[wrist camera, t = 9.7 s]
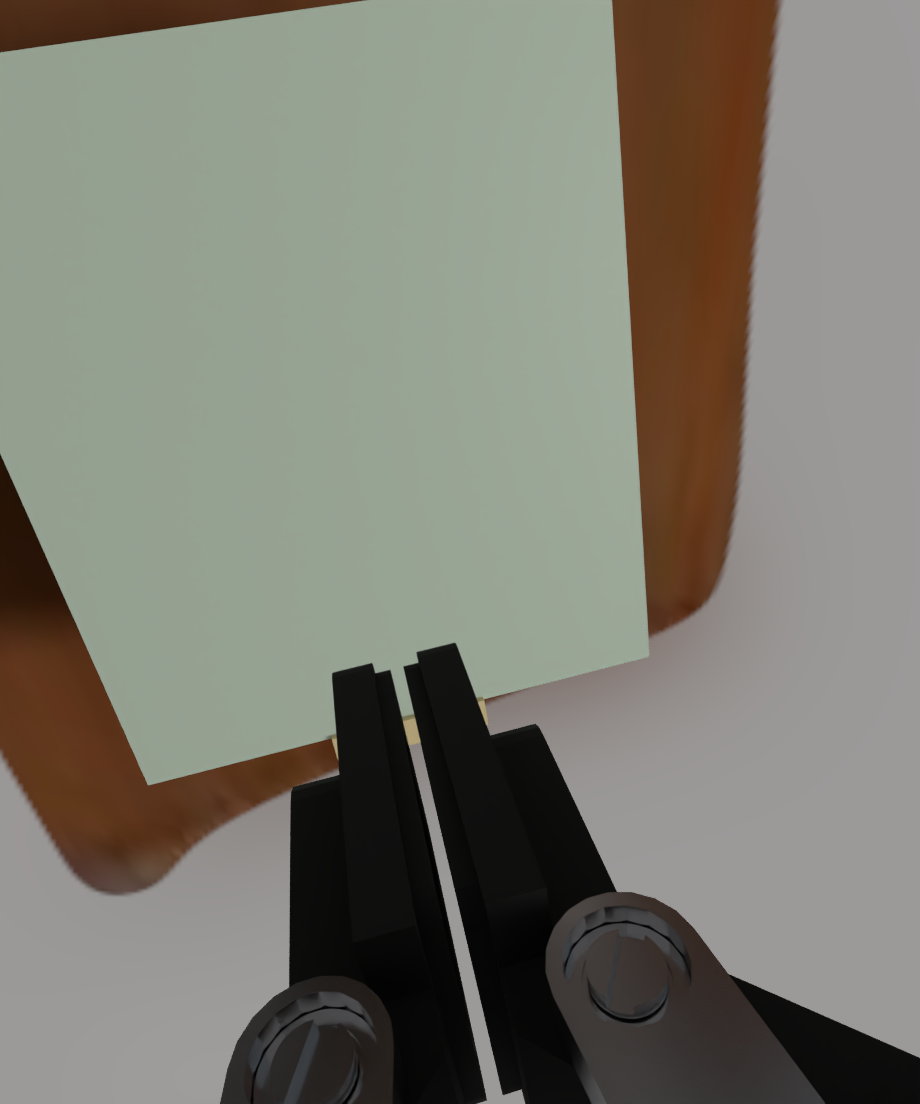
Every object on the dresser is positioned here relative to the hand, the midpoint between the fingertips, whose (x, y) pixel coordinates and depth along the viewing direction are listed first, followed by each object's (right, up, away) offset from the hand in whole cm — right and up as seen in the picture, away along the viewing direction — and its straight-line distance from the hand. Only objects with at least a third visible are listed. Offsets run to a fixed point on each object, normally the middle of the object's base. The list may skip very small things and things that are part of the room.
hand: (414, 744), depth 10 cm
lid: (-3, +6, +12) cm, 14 cm away
